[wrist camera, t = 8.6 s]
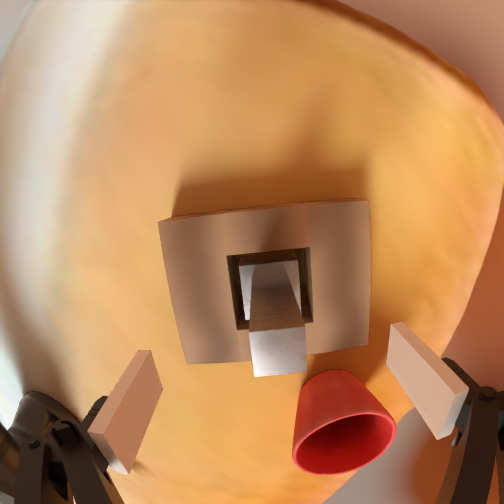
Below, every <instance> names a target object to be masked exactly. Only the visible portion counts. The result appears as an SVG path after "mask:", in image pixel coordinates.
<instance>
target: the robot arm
mask: <svg viewBox="0 0 504 504" xmlns="http://www.w3.org/2000/svg"><path fill="white" fill-rule="evenodd" d="M386 365H387V367H388V368H389V370H390V371H391V373H392V374H393V375H394V377H395V378H396V380H397V381H398V383H399V384H400V385H401V387H402V388H403V390H404V391H405V393H406V394H407V396H408V397H409V398H410V400H411V401H412V403H413V404H414V406H415V407H416V409H417V410H418V412H419V413H420V414H421V416H422V418H423V419H424V421H425V422H426V424H427V425H428V426H429V428H430V430H431V431H432V433H433V434H434V436H435V437H436V439H437V440H438V439H441V438H443V437H445V436H447V435H450V434H451V432H452V430H453V428H454V426H456V427H457V428H458V432H457V435H456V437H455V439H454V441H453V443H452V446H453V445H454V446H453V451H452V454H451V458H450V461H449V465H448V468H447V472H446V475H445V478H444V481H443V484H442V486H441V489H440V492H439V495H438V498H437V500H436V503H435V504H486V502H487V498H488V494H489V489H490V485H491V480H492V474H493V468H494V462H495V455H496V461H497V471H498V484H499V504H504V391H501V392H497V391H496V390H495V389H494V388H492V387H488V386H482V387H480V386H479V385H478V384H477V383H476V382H475V381H474V380H473V379H472V378H471V377H470V376H469V375H468V374H467V373H466V372H464V370H463V369H462V368H460V366H458V364H457V363H455V361H453V360H451V359H449V358H446V357H445V358H442V359H440V358H439V357H438V356H437V355H436V354H435V353H434V352H433V351H432V350H431V349H430V348H429V347H428V346H427V345H426V344H425V343H424V342H423V341H422V340H421V339H420V338H419V337H418V336H417V335H416V334H415V333H414V332H413V331H412V330H411V329H410V328H409V327H408V326H407V325H405V324H404V323H403V322H398V323H393V324H391V325H390V336H389V345H388V353H387V361H386ZM162 390H163V388H162V385H161V382H160V379H159V376H158V373H157V369H156V366H155V363H154V360H153V357H152V353H151V350H138V351H137V353H136V354H135V356H134V358H133V359H132V361H131V362H130V364H129V365H128V367H127V368H126V370H125V371H124V373H123V375H122V376H121V378H120V379H119V381H118V382H117V384H116V385H115V387H114V389H113V390H112V392H111V393H110V395H109V396H102V397H101V398H99V399H98V400H97V401H96V402H95V403H94V405H93V406H92V408H91V409H90V411H89V412H88V415H86V417H85V418H84V420H83V422H82V423H81V424H80V422H79V421H78V420H77V419H76V418H75V417H74V416H73V415H72V414H71V413H70V412H69V411H68V410H67V409H65V408H64V407H63V406H62V405H60V404H59V403H58V402H56V401H55V400H53V399H52V398H50V397H48V396H47V395H44V394H42V393H39V392H35V391H31V392H28V393H27V394H26V395H25V396H24V397H23V398H22V399H21V401H20V404H19V408H18V410H17V412H16V415H15V418H14V421H13V424H12V426H11V427H10V428H9V429H8V431H7V430H6V428H5V427H4V426H3V424H2V423H1V422H0V504H74V502H73V496H74V499H75V502H76V504H124V502H123V500H122V498H121V496H120V495H119V493H118V491H117V489H116V487H115V485H114V483H113V481H112V479H111V477H110V475H109V473H108V472H107V471H106V469H107V467H108V465H110V467H111V468H112V469H113V471H114V472H118V473H123V474H128V475H129V474H130V471H131V468H132V466H133V463H134V461H135V458H136V455H137V453H138V450H139V448H140V445H141V442H142V440H143V437H144V435H145V432H146V430H147V427H148V425H149V422H150V420H151V417H152V415H153V412H154V410H155V407H156V405H157V403H158V400H159V398H160V395H161V393H162Z"/></svg>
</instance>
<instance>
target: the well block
mask: <svg viewBox="0 0 504 504" xmlns="http://www.w3.org/2000/svg"><path fill="white" fill-rule="evenodd" d="M158 226H159V233H160V240H161V246H162V252H163V258H164V263H165V269H166V274H167V280H168V285H169V290H170V295H171V300H172V304H173V309H174V314H175V318H176V323H177V327H178V332H179V336H180V340H181V344H182V348H183V352H184V356H185V360H186V364H207V363H228V362H244V361H252V354H251V347H250V339H249V320H246V319H245V312H240V313H239V307H238V300H237V292H236V285H235V277H234V269H233V262H232V255H238V254H247V253H257V252H267V251H276V250H286V249H296V248H303V251H304V265H305V282H306V300H307V306H301V315H302V318H303V321H304V324H305V330H306V355H312V354H319V353H326V352H332V351H339V350H345V349H351V348H356V347H362V346H367V345H368V336H369V319H370V295H371V239H370V215H369V200H362V199H354V198H353V199H339V200H326V201H313V202H302V203H290V204H280V205H270V206H260V207H251V208H241V209H233V210H224V211H216V212H208V213H200V214H192V215H185V216H177V217H171V218H168V219H165V220H162V221H160V222H158Z"/></svg>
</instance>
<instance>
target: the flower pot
mask: <svg viewBox="0 0 504 504" xmlns="http://www.w3.org/2000/svg"><path fill="white" fill-rule="evenodd" d="M395 434H396V423H395V421H394V419H393V418H392V416H391V415H390V414H389V413H388V411H387V410H386V409H385V408H384V407H383V406H382V404H381V403H380V402H379V401H378V400H377V399H376V398H375V397H374V395H373V394H372V393H371V392H370V391H369V390H368V389H367V388H366V387H365V386H364V385H363V384H362V383H361V382H360V381H359V380H358V379H357V378H356V377H355V376H354V375H353V374H351V373H350V372H347V371H344V370H328V371H325V372H322V373H319V374H317V375H315V376H314V377H312V378H311V379H309V380H308V381H307V382H306V383H305V385H304V386H303V387H302V389H301V391H300V394H299V399H298V406H297V413H296V420H295V428H294V437H293V448H292V459H293V462H294V463H295V465H296V466H297V467H298V468H299V469H301V470H303V471H305V472H308V473H311V474H316V475H336V474H342V473H346V472H350V471H353V470H356V469H359V468H361V467H363V466H365V465H367V464H369V463H370V462H372V461H373V460H375V459H376V458H378V457H379V456H380V455H381V454H383V453H384V452H385V451H386V449H387V448H388V447H389V446H390V444H391V443H392V441H393V440H394V437H395Z"/></svg>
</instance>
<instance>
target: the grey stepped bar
mask: <svg viewBox="0 0 504 504" xmlns="http://www.w3.org/2000/svg"><path fill="white" fill-rule="evenodd" d="M239 273H240V280H241V288H242V296H243V304H244V312H245V319H246V320H249V339H250V347H251V354H252V362H253V369H254V376H255V377H259V376H270V375H280V374H290V373H298V372H306V371H307V361H306V330H305V324H304V321H303V318H302V315H301V299H300V282H299V267H298V259H297V258H296V256H295V254H294V252H293V250H289V251H280V252H270V253H260V254H251V255H241V259H240V263H239Z"/></svg>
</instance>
